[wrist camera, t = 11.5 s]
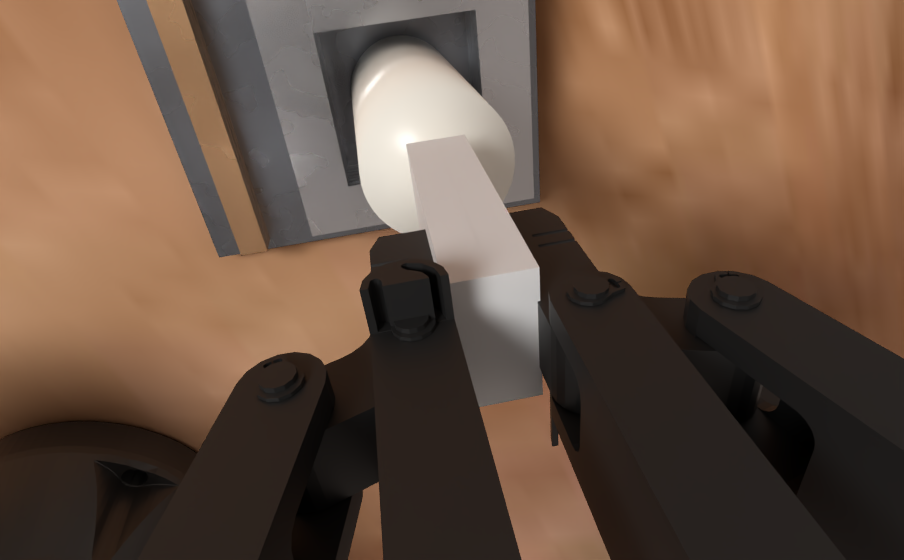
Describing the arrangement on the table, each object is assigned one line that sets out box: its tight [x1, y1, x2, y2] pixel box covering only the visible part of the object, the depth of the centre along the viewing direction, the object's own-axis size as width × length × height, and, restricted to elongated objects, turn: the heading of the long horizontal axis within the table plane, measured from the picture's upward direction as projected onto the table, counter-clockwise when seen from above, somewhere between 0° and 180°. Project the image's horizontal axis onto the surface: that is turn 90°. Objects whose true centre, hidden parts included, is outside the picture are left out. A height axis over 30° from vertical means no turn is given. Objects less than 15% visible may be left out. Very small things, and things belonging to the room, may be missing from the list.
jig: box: [117, 0, 540, 257], centre depth 23 cm, size 16×13×4 cm
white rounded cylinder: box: [351, 35, 515, 233], centre depth 20 cm, size 4×4×10 cm
